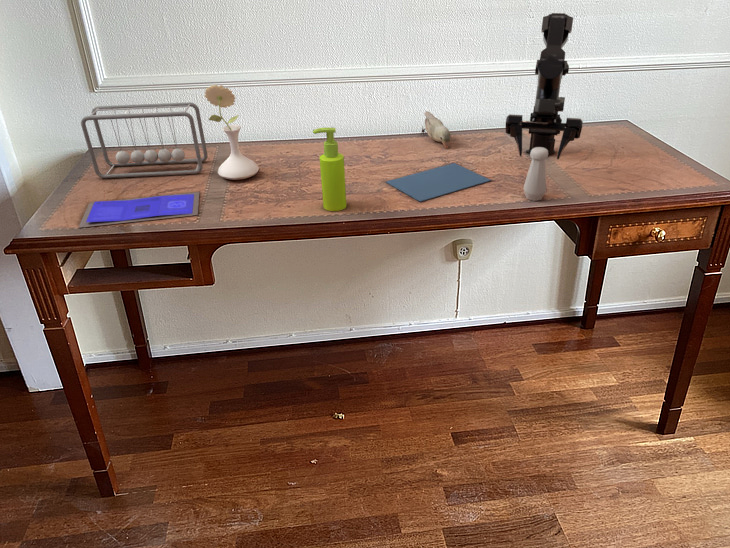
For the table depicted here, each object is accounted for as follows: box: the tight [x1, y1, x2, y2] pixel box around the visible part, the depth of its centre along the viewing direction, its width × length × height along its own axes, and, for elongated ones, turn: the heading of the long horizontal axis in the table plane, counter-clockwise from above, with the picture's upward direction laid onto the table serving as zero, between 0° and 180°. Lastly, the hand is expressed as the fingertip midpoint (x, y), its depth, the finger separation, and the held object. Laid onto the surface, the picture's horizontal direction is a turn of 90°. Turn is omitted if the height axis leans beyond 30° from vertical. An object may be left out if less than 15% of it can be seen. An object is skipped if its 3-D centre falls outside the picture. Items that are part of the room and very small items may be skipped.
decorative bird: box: [420, 110, 451, 149], centre depth 191 cm, size 5×16×8 cm, turn 21°
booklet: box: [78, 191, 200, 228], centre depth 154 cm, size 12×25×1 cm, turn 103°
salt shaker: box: [523, 147, 549, 202], centre depth 152 cm, size 6×6×13 cm
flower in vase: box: [203, 84, 260, 181], centre depth 165 cm, size 13×11×25 cm
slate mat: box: [385, 162, 492, 203], centre depth 165 cm, size 24×16×1 cm, turn 123°
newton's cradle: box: [80, 102, 208, 179], centre depth 172 cm, size 30×10×18 cm, turn 95°
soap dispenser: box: [312, 126, 347, 212], centre depth 148 cm, size 6×7×20 cm
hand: (539, 157), depth 152 cm, fingers open, 9 cm apart
